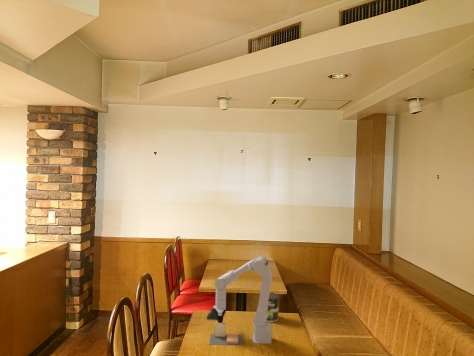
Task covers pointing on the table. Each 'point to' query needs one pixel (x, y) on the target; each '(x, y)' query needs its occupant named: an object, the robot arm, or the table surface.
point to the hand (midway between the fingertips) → (220, 322)
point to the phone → (212, 315)
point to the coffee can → (273, 307)
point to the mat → (223, 340)
